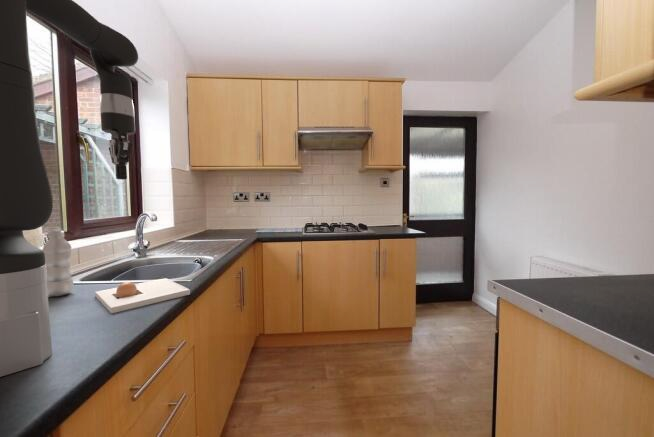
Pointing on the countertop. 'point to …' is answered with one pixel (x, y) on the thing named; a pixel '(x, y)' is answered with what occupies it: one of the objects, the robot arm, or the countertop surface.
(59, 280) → the plastic bottle
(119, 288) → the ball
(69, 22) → the robot arm
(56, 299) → the countertop surface
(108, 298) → the white square board
